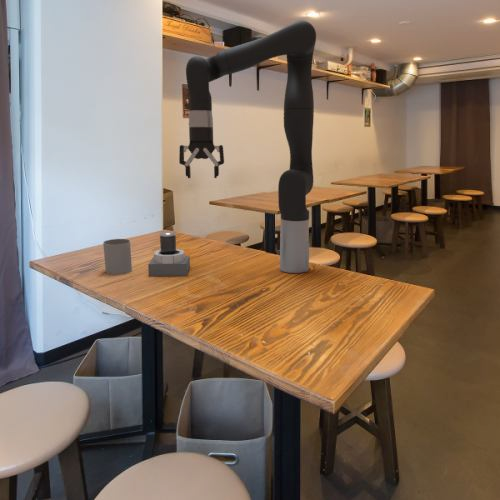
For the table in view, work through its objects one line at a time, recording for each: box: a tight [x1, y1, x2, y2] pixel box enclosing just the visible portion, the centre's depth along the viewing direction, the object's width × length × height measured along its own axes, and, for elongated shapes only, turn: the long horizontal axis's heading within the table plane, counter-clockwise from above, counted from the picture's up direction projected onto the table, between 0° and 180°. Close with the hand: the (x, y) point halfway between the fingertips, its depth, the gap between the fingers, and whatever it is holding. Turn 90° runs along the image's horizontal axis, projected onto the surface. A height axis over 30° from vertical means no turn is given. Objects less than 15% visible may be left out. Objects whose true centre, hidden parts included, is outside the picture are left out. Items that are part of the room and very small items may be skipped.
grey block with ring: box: [147, 248, 191, 277], centre depth 141 cm, size 12×10×6 cm
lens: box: [159, 230, 177, 255], centre depth 140 cm, size 5×5×9 cm
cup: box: [102, 238, 133, 276], centre depth 141 cm, size 8×8×10 cm
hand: (202, 178), depth 140 cm, fingers open, 8 cm apart
